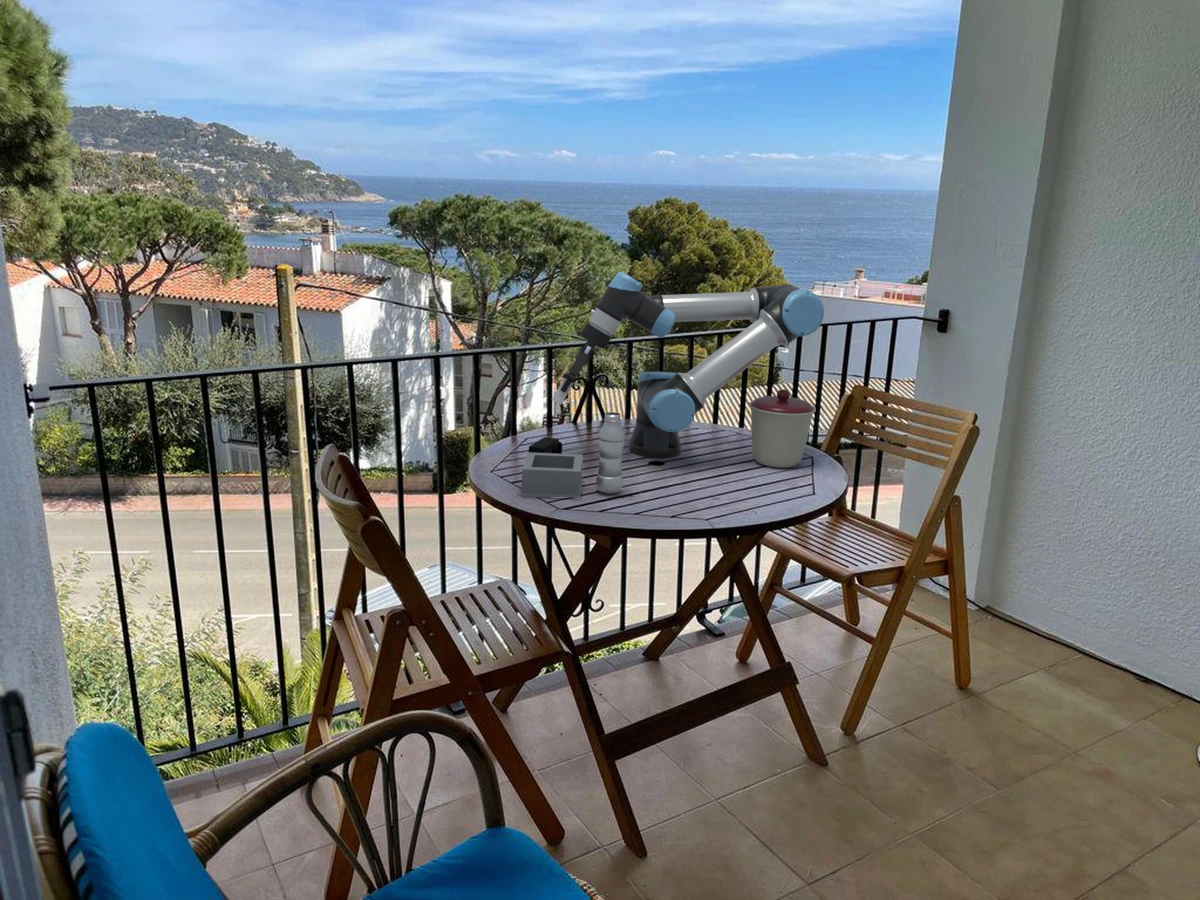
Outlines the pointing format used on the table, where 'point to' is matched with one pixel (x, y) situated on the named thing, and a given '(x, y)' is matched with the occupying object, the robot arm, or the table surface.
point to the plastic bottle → (611, 455)
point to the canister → (780, 429)
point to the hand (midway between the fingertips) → (558, 398)
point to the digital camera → (546, 446)
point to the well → (552, 475)
